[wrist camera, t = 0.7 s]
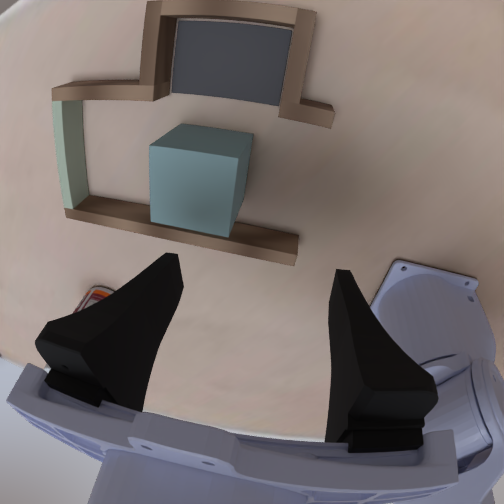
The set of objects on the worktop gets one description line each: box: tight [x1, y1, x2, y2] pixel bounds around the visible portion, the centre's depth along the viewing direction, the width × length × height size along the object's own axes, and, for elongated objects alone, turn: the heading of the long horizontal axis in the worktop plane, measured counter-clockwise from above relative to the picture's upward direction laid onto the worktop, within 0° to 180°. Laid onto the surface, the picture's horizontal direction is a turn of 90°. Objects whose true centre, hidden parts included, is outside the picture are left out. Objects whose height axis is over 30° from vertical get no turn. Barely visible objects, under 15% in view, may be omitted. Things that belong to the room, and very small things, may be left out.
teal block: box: [149, 124, 253, 237], centre depth 19 cm, size 5×5×5 cm
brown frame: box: [52, 0, 335, 266], centre depth 18 cm, size 19×16×2 cm
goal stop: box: [52, 100, 89, 209], centre depth 20 cm, size 1×9×2 cm, turn 172°
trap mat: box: [171, 21, 292, 106], centre depth 17 cm, size 7×5×1 cm
